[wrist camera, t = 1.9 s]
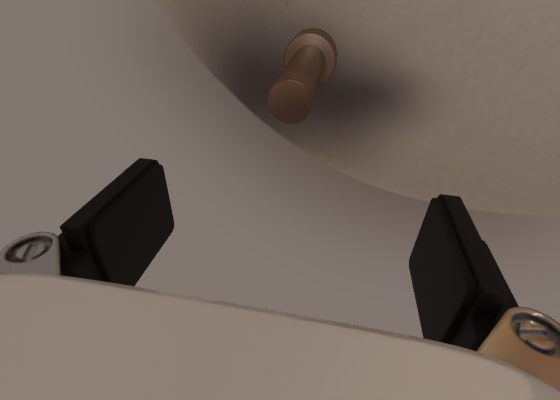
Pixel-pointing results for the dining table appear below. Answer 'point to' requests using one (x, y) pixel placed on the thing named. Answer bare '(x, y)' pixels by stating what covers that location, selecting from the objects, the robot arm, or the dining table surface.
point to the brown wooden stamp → (302, 75)
